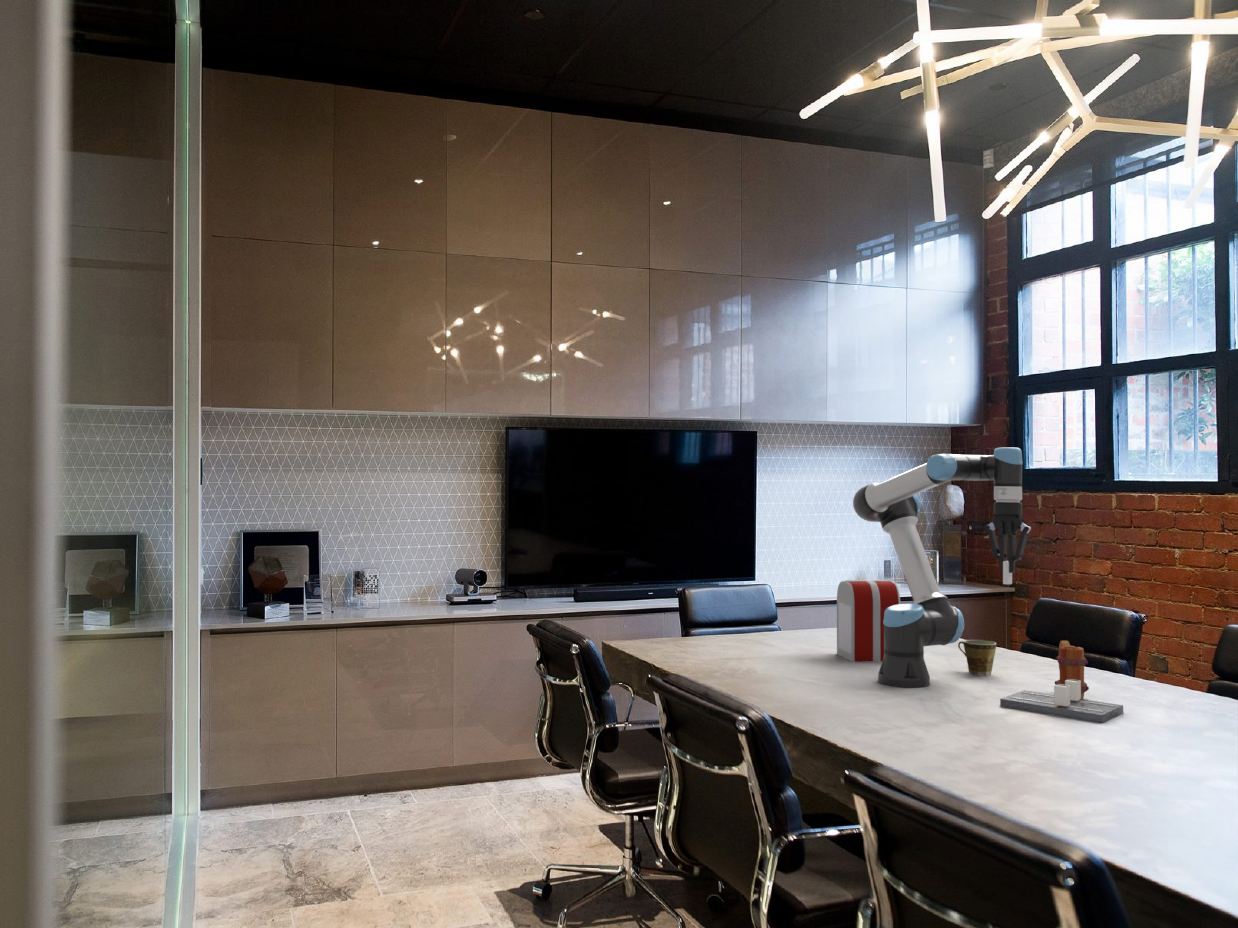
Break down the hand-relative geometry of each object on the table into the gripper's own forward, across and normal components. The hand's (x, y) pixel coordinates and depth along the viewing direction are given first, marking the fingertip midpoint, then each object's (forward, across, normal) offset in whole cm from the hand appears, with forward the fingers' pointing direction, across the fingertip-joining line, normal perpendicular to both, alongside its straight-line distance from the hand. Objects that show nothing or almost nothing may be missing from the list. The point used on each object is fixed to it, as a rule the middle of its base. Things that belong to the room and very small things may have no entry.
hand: (1007, 583), depth 271 cm
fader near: (+30, +19, -10) cm, 37 cm away
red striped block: (+33, -61, +28) cm, 75 cm away
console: (+32, +17, -6) cm, 37 cm away
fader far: (+30, +18, -1) cm, 35 cm away
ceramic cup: (+33, -22, +28) cm, 48 cm away
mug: (+32, +12, +14) cm, 37 cm away
